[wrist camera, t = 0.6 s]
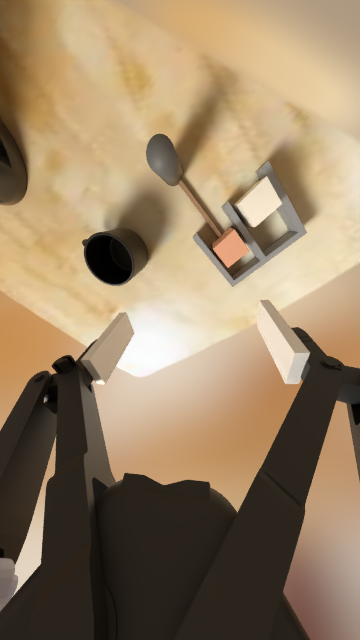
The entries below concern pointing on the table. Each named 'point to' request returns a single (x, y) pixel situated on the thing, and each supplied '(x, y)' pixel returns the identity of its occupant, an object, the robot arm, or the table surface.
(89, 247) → the mug
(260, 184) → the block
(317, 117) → the table surface
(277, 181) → the lane shelf
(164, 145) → the block
